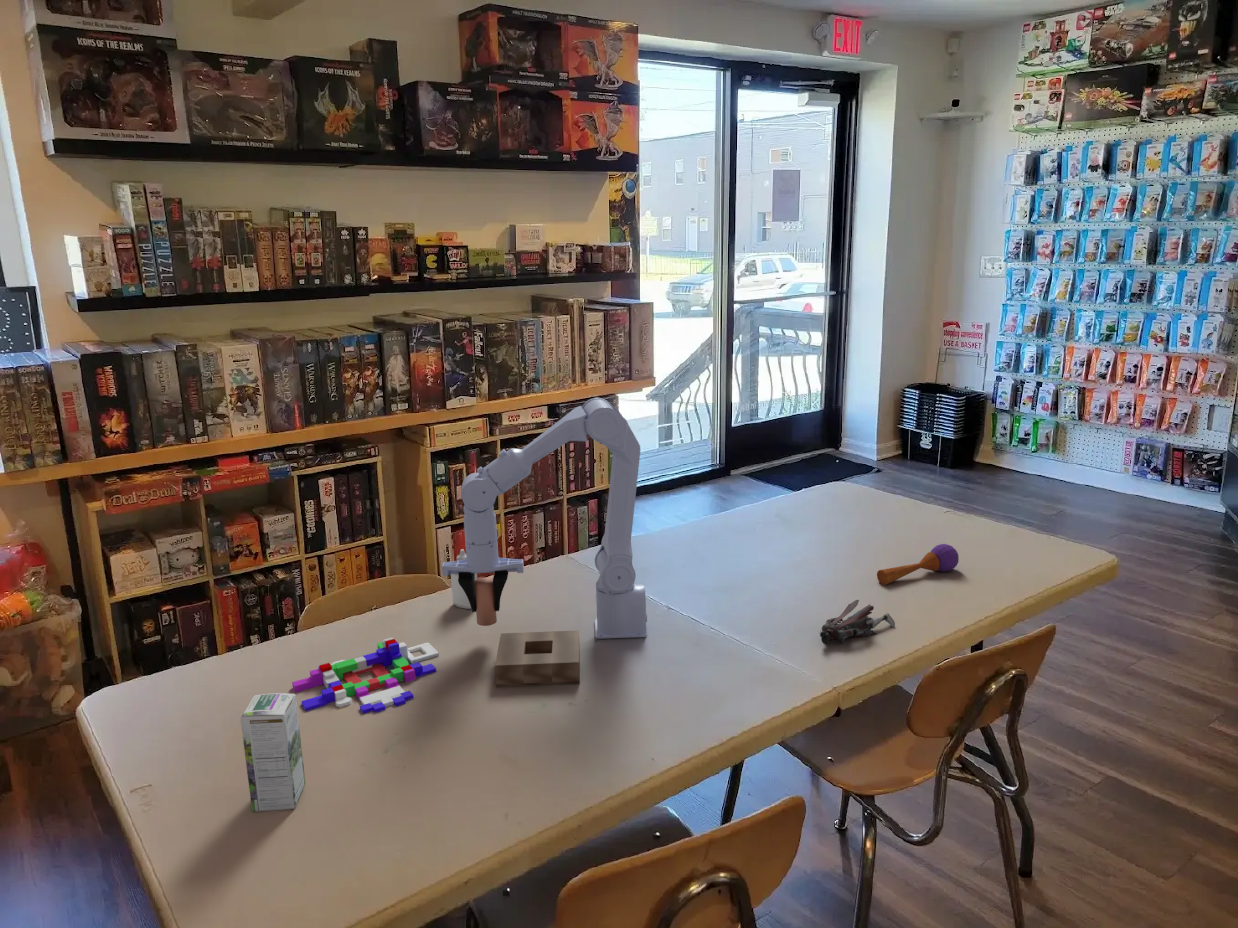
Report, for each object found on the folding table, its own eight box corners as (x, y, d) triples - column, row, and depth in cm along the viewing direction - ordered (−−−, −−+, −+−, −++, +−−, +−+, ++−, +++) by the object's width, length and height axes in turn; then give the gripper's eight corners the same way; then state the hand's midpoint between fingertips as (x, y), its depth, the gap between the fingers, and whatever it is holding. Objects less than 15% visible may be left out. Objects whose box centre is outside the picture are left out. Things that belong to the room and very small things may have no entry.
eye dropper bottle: (460, 612, 180) (456, 556, 177) (451, 602, 185) (447, 547, 182) (481, 607, 182) (477, 552, 179) (471, 597, 187) (467, 543, 184)
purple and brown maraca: (870, 561, 192) (942, 539, 199) (874, 588, 193) (946, 565, 200) (889, 566, 186) (962, 543, 194) (893, 593, 187) (966, 569, 195)
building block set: (318, 733, 140) (315, 707, 138) (285, 680, 156) (282, 656, 155) (467, 686, 153) (465, 662, 151) (422, 641, 169) (420, 619, 168)
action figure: (861, 619, 176) (802, 644, 165) (862, 590, 175) (802, 613, 164) (897, 630, 170) (839, 656, 159) (898, 599, 169) (839, 624, 158)
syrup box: (264, 786, 126) (251, 693, 122) (307, 784, 126) (295, 691, 122) (251, 813, 120) (237, 716, 116) (297, 809, 121) (284, 713, 117)
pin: (497, 616, 168) (494, 577, 166) (495, 625, 165) (493, 584, 163) (478, 617, 168) (475, 577, 166) (476, 626, 165) (473, 585, 162)
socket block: (579, 650, 163) (578, 630, 162) (579, 683, 152) (579, 661, 151) (501, 653, 163) (500, 633, 162) (496, 686, 151) (495, 665, 150)
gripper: (523, 530, 166) (526, 598, 170) (443, 533, 166) (449, 601, 169) (520, 544, 159) (524, 614, 163) (438, 547, 159) (444, 617, 163)
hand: (486, 609), depth 166 cm, fingers closed on pin, 4 cm apart
